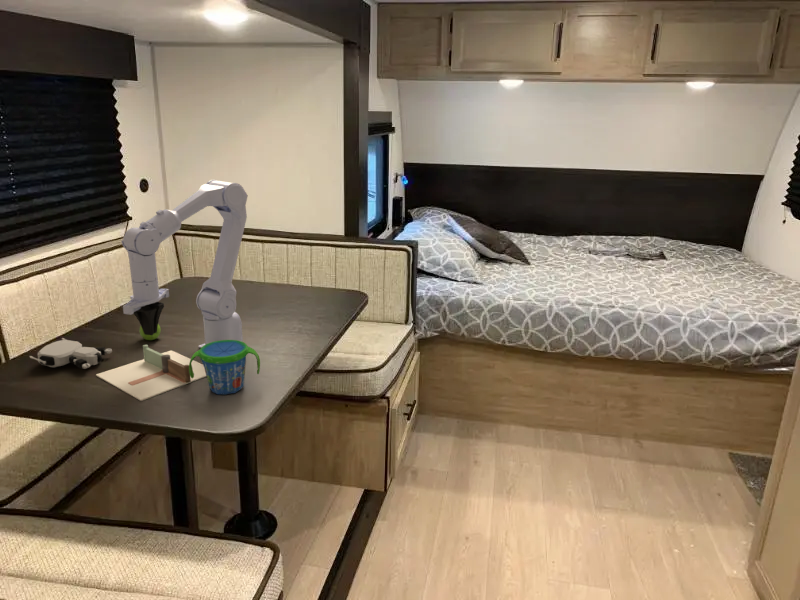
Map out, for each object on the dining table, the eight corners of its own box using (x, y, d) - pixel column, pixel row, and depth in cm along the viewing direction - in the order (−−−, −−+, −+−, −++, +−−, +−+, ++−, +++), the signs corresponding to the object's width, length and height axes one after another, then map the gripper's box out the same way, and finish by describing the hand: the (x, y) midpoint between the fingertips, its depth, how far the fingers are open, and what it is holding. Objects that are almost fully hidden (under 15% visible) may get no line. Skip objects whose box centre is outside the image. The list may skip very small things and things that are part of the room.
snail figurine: (150, 333, 173) (146, 293, 169) (165, 338, 170) (161, 297, 166) (133, 339, 169) (128, 298, 165) (149, 344, 166) (144, 302, 162)
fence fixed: (168, 368, 150) (167, 353, 149) (193, 380, 144) (191, 365, 143) (161, 371, 149) (159, 356, 148) (185, 383, 143) (184, 367, 142)
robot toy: (116, 359, 158) (61, 351, 160) (115, 343, 157) (59, 335, 158) (87, 379, 147) (28, 370, 148) (86, 362, 145) (26, 353, 146)
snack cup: (186, 399, 136) (182, 357, 133) (197, 379, 146) (193, 339, 143) (257, 398, 137) (255, 356, 134) (263, 378, 147) (262, 339, 144)
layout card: (171, 351, 162) (171, 349, 161) (217, 372, 150) (217, 370, 150) (96, 375, 146) (95, 374, 146) (141, 401, 135) (140, 399, 135)
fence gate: (147, 359, 155) (146, 344, 154) (166, 368, 150) (164, 352, 149) (143, 360, 154) (141, 345, 153) (161, 369, 149) (160, 354, 148)
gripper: (149, 270, 151) (154, 321, 155) (108, 286, 138) (115, 342, 142) (174, 272, 150) (179, 324, 154) (136, 288, 136) (142, 345, 140)
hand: (150, 333), depth 148 cm, fingers closed
